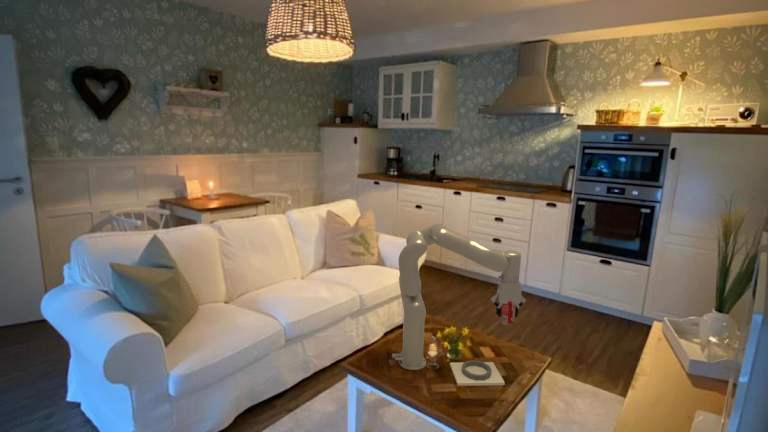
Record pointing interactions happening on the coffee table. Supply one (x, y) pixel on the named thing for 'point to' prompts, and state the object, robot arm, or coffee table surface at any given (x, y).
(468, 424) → the coffee table surface
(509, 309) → the soda can
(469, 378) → the collar board
